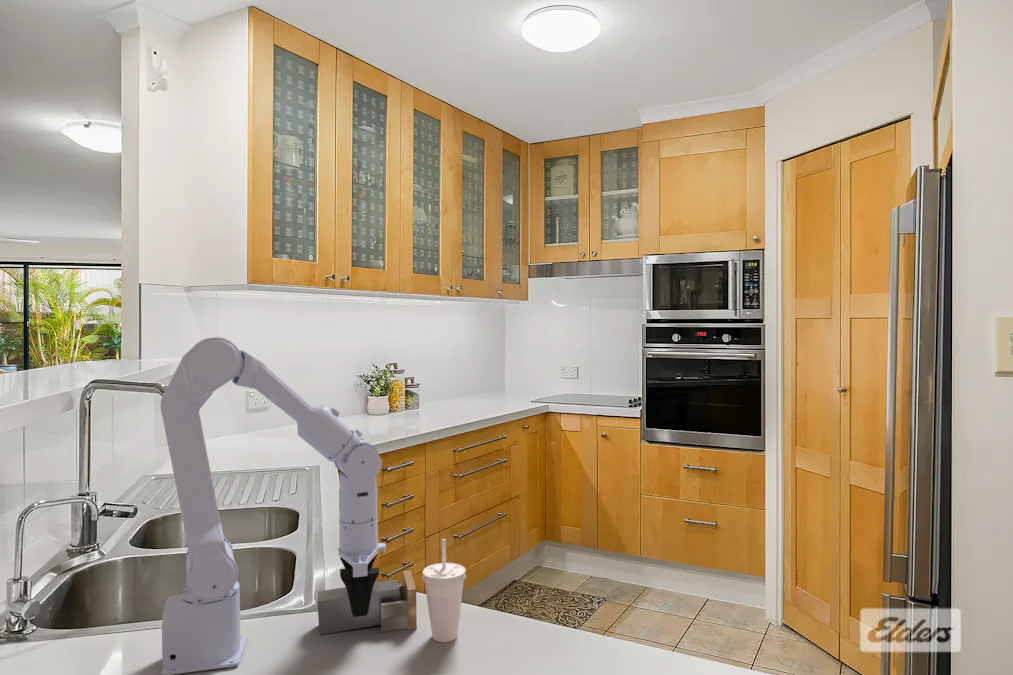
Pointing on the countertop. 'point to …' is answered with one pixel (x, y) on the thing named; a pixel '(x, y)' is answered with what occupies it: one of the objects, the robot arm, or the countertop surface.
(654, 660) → the countertop surface
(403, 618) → the bracket
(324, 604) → the grey rectangular block
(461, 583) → the smoothie
